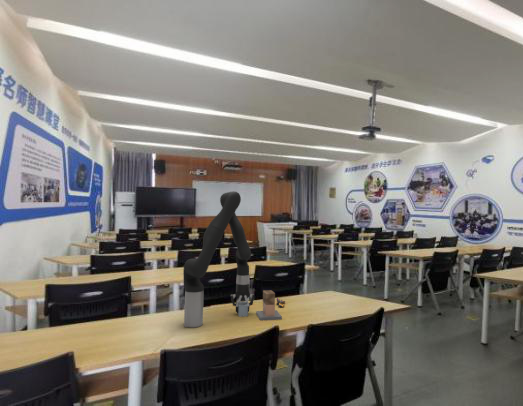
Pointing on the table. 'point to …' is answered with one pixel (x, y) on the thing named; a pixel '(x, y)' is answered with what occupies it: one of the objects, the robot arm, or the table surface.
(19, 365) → the table surface
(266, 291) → the brick walnut
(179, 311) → the table surface
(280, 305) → the toy set
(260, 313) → the baseplate
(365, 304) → the table surface
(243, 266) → the robot arm
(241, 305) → the brick slate
